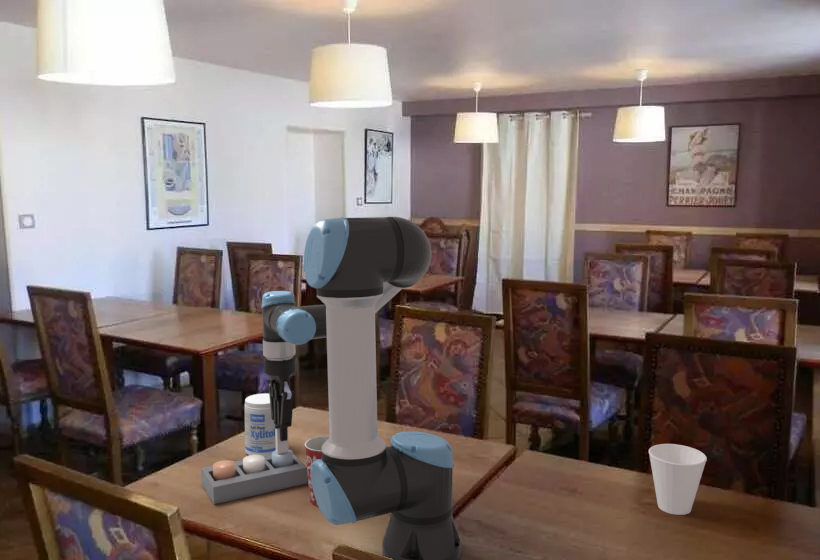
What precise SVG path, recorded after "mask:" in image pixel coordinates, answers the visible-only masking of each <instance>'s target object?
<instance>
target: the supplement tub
mask: <svg viewBox="0 0 820 560" xmlns="http://www.w3.org/2000/svg"><path fill="white" fill-rule="evenodd" d="M271 417H272V416H271V406H270V396H269V393H256V394H252V395H249V396H247V397H246V398H245V399H244V448H245V449H244V451H245V454H247V456H249V455H262V456H264V455H269V454H272V452H273V451H275V450H276V441H275V426H276V425H275V424H274V420H272V418H271Z"/></svg>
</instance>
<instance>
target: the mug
mask: <svg viewBox="0 0 820 560" xmlns="http://www.w3.org/2000/svg"><path fill="white" fill-rule="evenodd" d="M329 437H330V435H319V436H313V437H311V438H309V439H308V440H306V441H305V442H304V448H305V456H306V457H305V459H306V467H307V484H308V492H309V501H310V503H311V504H312V505H314V506H317V507H319V506H318V504H317V501H316V498H315V495H314V492H313V488H312V483H311V475H310V470H311V465H312V463H313V462H314V461H316V460H317V459H320V460H321V459H322V450H321V449H322V445H323V444H324V443H325V442H326V441H327V440H328V439H329Z"/></svg>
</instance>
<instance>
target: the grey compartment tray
mask: <svg viewBox="0 0 820 560" xmlns="http://www.w3.org/2000/svg"><path fill="white" fill-rule="evenodd" d="M264 457H265V471H261V472H257V473H252V474H247V475H245V474H244V473H243V459H240V460H234V462H235V471H236V477H233V478H228V479H223V480H218V481H214V480H213V465H209V466H204V467H200V476H201V477H200V479H201V480H200V481H201V485H202V488H203V489H204V491H205V492H206V494H207V495H208V497H209V499H210V500H211V502H212V503H213V505H217V504H222V503H226V502H231V501H235V500H240V499H244V498H248V497H252V496H257V495H262V494H266V493H271V492H275V491H279V490H284V489H289V488H294V487H298V486H302V485H307V484H308V470H307V465H305V464H304V462H303V461H301V459H299V457H298V456H296V454H294V453H293V465H290V466H285V467H281V468H276V469H274V468H273V467H272V454H269V455H264Z"/></svg>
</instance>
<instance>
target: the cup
mask: <svg viewBox="0 0 820 560" xmlns="http://www.w3.org/2000/svg"><path fill="white" fill-rule="evenodd" d="M648 454H649V461H650V466H651V471H652V478H653V485H654V490H655V495H656V497H655V498H656V501H657V506H658V508H659V509H660V510H661V511H663V512H665V513H667V514H670V515H679V516H683V515H687V514H690V513H691V511H692V508H693V505H694V502H695V498H696V495H697V492H698V489H699V486H700V481H701V479H702V475H703V472H704V469H705V465H706V462H707V456H706V455H705V453H703V452H702V451H700V450H699V449H696V448H695V447H694V448H693V447H691V446H686V445H682V444H676V443H660V444H656V445H652V446H651V447H650V448H649V449H648Z"/></svg>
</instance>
